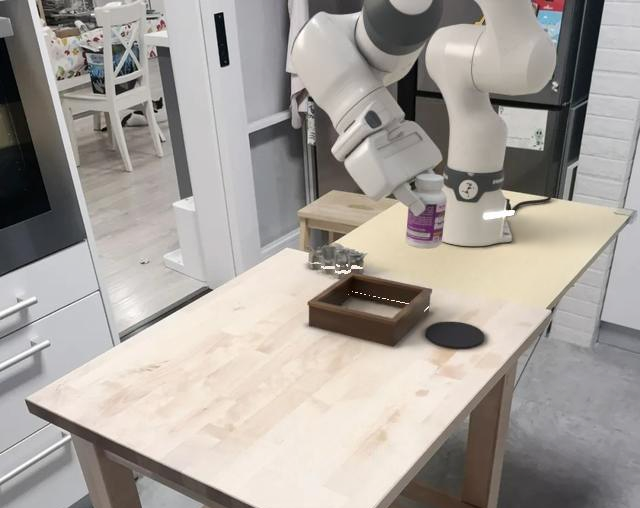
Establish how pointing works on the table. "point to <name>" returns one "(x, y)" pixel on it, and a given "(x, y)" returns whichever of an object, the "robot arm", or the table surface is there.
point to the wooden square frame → (366, 325)
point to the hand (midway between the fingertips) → (431, 206)
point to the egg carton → (336, 259)
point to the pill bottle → (427, 213)
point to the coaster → (454, 335)
